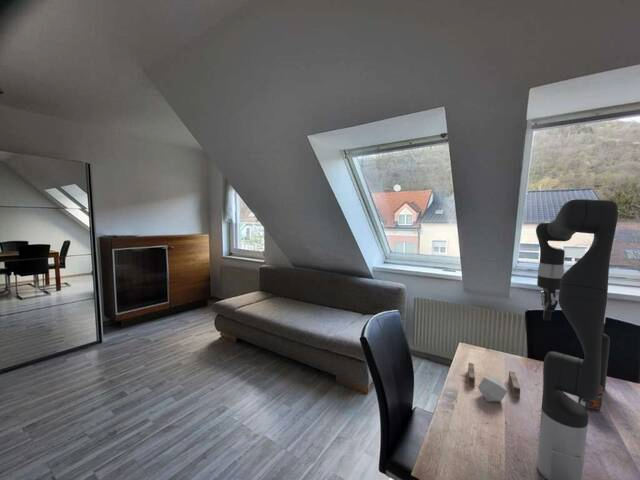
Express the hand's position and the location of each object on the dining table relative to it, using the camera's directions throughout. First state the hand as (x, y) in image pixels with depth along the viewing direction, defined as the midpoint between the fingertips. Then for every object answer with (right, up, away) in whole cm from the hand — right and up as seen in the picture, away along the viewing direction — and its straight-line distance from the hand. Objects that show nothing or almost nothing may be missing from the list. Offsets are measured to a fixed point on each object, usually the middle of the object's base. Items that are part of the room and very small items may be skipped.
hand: (547, 319), depth 108 cm
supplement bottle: (+10, -30, -6) cm, 32 cm away
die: (-22, -30, -2) cm, 37 cm away
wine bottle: (+24, -29, +6) cm, 38 cm away
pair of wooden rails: (-16, -28, +8) cm, 34 cm away
